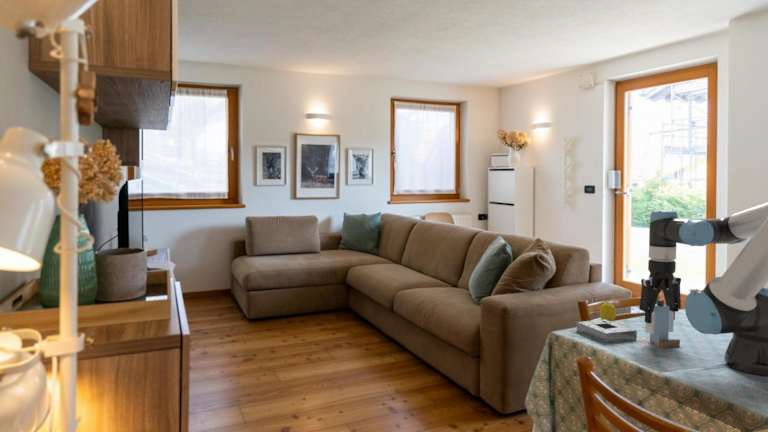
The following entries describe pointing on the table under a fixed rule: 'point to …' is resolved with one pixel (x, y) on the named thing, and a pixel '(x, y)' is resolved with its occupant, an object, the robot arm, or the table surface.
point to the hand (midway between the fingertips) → (659, 331)
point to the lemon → (607, 311)
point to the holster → (664, 343)
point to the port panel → (606, 331)
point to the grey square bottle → (660, 322)
